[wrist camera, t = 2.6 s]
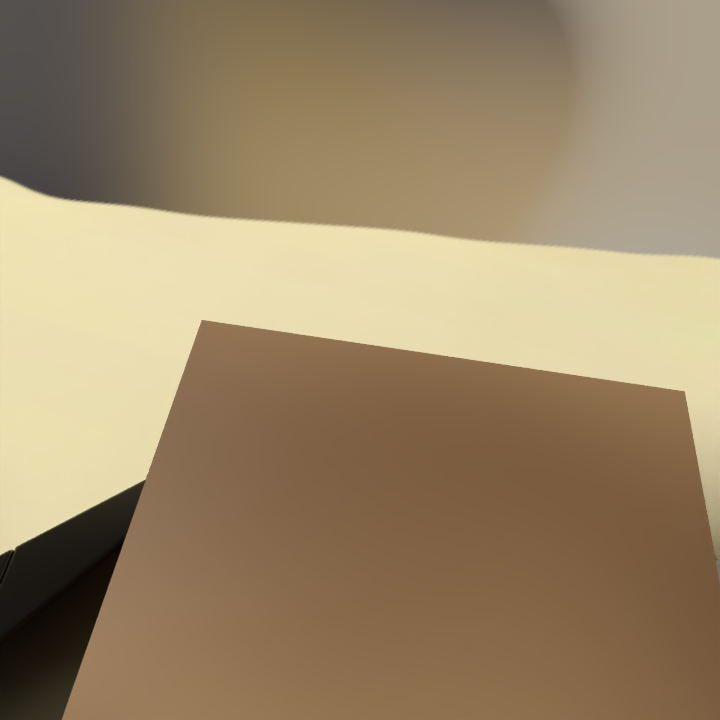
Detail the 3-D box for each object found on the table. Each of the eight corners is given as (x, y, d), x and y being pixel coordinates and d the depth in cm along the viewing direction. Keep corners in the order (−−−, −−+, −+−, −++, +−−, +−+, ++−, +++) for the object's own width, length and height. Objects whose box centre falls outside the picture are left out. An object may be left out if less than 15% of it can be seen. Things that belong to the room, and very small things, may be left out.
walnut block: (424, 634, 13) (855, 1316, 2) (282, 610, 13) (-75, 1107, 2) (435, 483, 15) (685, 391, 4) (310, 463, 15) (201, 320, 4)
